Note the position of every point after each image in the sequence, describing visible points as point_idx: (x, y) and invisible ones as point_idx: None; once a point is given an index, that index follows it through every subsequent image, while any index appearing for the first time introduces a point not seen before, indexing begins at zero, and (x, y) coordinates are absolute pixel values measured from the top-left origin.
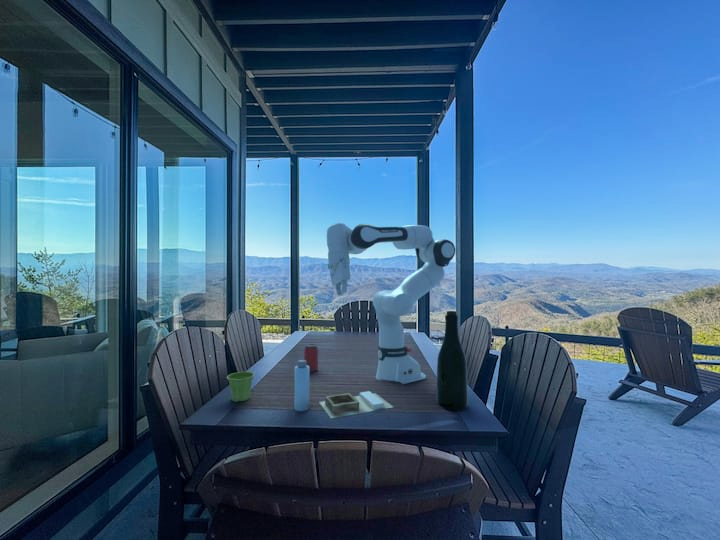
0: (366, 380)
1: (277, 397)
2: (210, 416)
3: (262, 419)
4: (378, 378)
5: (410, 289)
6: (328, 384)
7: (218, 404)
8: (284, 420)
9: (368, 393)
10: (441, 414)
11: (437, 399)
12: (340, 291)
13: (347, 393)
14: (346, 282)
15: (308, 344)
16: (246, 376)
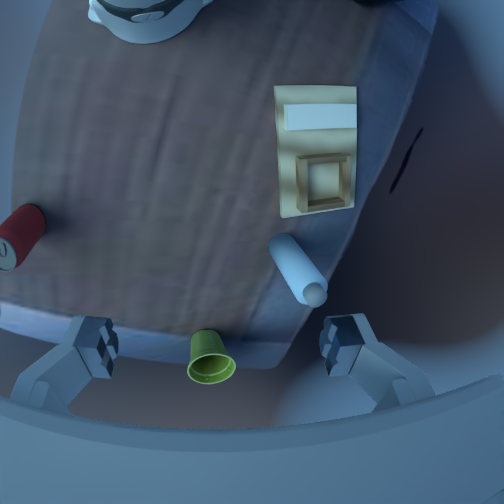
0: (145, 72)
1: (213, 287)
2: (263, 355)
3: None
4: (159, 39)
5: None
6: (152, 180)
7: None
8: None
9: (300, 112)
10: (387, 25)
11: (364, 2)
12: (101, 351)
13: (302, 164)
14: (425, 385)
15: None
16: (191, 360)
